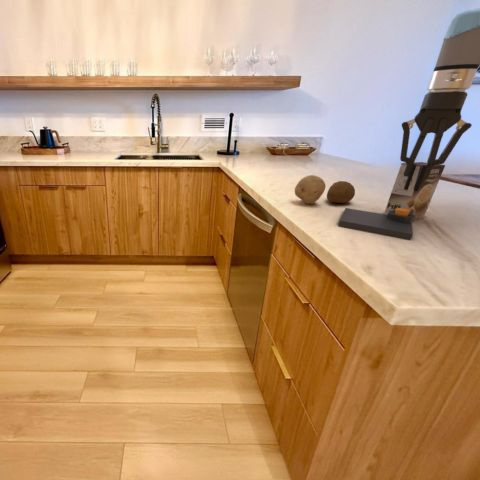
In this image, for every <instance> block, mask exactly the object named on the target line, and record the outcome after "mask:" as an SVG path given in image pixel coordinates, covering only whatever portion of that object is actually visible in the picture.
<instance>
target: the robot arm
mask: <svg viewBox="0 0 480 480" xmlns="http://www.w3.org/2000/svg"><path fill="white" fill-rule="evenodd" d="M479 68H480V7H478V8H473V9H467V10H464V11H462V12H460V13H458V14H456V15H455V16H454V17H453V18H452V19H451V21H450V24H449V26H448V28H447V30H446V32H445V35H444V37H443V39H442V45H441V47H440V51H439V54H438V57H437V59H436V63H435V66H434V69H433V71H432V74H431V77H430V80H429V82H428V86H427V87H426V90H427V91H428V92H427V93H426V94H425V95H424V97H423V100H422V102H421V106H420V108H419V111H418V113H417V114H416V115H415V116H414V118H412V119H410V120H407V121H403V122H402V123H401V129H402V130H403V134H402V141H401V149H400V156H399V160H400V162H402V163H407V165H406V168H405V171H404V176H406V177H407V180H406V183H405V186H404V190H408V188H409V185H410V182H411V180H412V177H413V174H414V171H415V169H416V166H417V165H416V164H414V162H416V160H417V157H418V155H419V152H420V151H421V148H422V146H423V144H424V141H425V139H426V137H427V135H428V134H434V136H433V140H432V143H431V147H430V151H429V153H428V157H427V161H426V163H427V164H426V165H422V167H421V170H420V172H419V175H418V178H417V180H416V183H415V186H414V188H413V189H414V191H418V189H419V186H420V184H421V181H422V178H426V179H427V178H428V177H429V175H430V172H431V170H432V167H433V166H434V165H438V164H441V165H444V164H445V162H446V161H447V160H448V158H449V156H450V155H451V153H452V151H453V150H454V149H455V147H456V145H457V144H458V142H459V141H460V139H461V137H462V136H463V134H464V133H466V132H467V131H468V130H469V129H470V128H472V126H473V125H472V123H470V122H468V121H465V120H463V119H462V114H461V113H462V109H463V107H464V104H465V103H466V99H467V97H468V92H467V90H469V89H471V87H472V84H473V82H474V79H475V76H476V75H477V74H476V73H477V71H478V69H479ZM414 124H416V126H417V129H418V130H419V131H420V132H419V134H418V137H417V139H416V141H415V144H414V146H413V148H412V151H411V153H410V155H409V157H408V150H409V142H410V134H411V129H413V128H414ZM455 125H456V126H455ZM454 126H455V127H454ZM452 127H454V129H455V132H454V133H453V134H452V136H451V138H450V139H449V140H448V142H447V143H446V145H445V147H444V149H443V150H442V151H441V153H440V155H439V157H438V152H439V150H440V146H441V142H442V138H443V136H444V133H446V132H447V131H448V130H450V129H451V128H452ZM437 157H438V158H437Z"/></svg>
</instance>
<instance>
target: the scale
mask: <svg viewBox="0 0 480 480" xmlns="http://www.w3.org/2000/svg"><path fill="white" fill-rule="evenodd" d="M395 211H396V210H391V211H388V214H387V215H386V214H384V213H380V212H374V211H367V210H362V209H355V208H348V207H345V209H344V210H343V212H342V215H341V217H340V219H339V222H338V225H337V227H339V228H343V229H349V230H355V231H358V232H359V231H360V232H365V233H371V234H373V235H374V234H375V235H380V236H385V237H390V238H396V239H400V240H406V241H411V239H412V238H413V234H414V233H413V226H412V223H413V222H414V221H415V220H414V218H415V215H414V214H412V213H409V214H408V216H403V215H398V214H395Z"/></svg>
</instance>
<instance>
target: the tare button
mask: <svg viewBox="0 0 480 480" xmlns="http://www.w3.org/2000/svg"><path fill="white" fill-rule="evenodd" d="M409 212H410V210H408V209H404V208H396V211H395V214H398V215H403V216H408V214H409Z"/></svg>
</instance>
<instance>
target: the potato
mask: <svg viewBox="0 0 480 480" xmlns="http://www.w3.org/2000/svg"><path fill="white" fill-rule="evenodd" d="M355 195H356V189H355V187H354V185H353V184H352V183H351V182H348V181H345V180H344V181H343V180H338V181H336V182H333V184H332V185H331V186H329V187H328V190H327V193H326V199H327V201H329V202H331V203H337V204H347V203H349V202H350V201H352V200H353V199H354V197H355Z"/></svg>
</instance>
